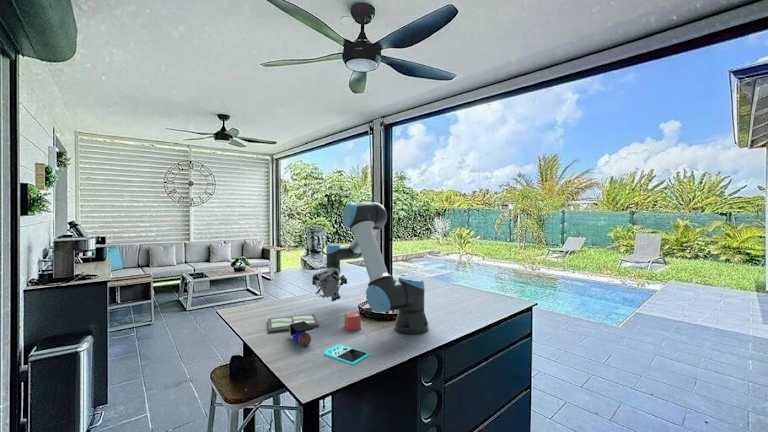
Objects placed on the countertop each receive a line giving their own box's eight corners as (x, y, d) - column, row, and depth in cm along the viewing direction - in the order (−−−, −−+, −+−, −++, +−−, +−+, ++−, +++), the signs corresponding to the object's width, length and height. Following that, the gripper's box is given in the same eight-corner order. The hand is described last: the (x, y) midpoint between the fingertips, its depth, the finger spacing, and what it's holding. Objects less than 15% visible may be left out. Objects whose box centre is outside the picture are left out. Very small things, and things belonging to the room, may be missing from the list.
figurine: (315, 302, 169) (307, 273, 167) (336, 293, 175) (328, 265, 172) (322, 307, 162) (314, 277, 159) (343, 297, 167) (336, 268, 165)
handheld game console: (339, 346, 139) (339, 343, 139) (370, 356, 130) (370, 353, 130) (321, 355, 131) (321, 352, 131) (353, 367, 122) (353, 363, 122)
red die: (360, 329, 156) (360, 315, 156) (347, 330, 154) (347, 317, 154) (357, 324, 162) (357, 311, 162) (344, 326, 160) (344, 313, 160)
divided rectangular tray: (318, 327, 159) (318, 323, 159) (268, 333, 152) (268, 329, 152) (314, 316, 174) (314, 313, 174) (268, 321, 167) (268, 318, 167)
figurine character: (287, 340, 148) (298, 349, 135) (286, 322, 148) (297, 329, 136) (302, 336, 152) (315, 345, 139) (301, 319, 152) (314, 325, 139)
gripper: (352, 281, 187) (352, 292, 165) (311, 282, 185) (304, 294, 163) (352, 268, 187) (351, 277, 164) (310, 269, 185) (304, 278, 163)
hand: (328, 285), depth 164 cm, fingers closed on figurine, 10 cm apart
